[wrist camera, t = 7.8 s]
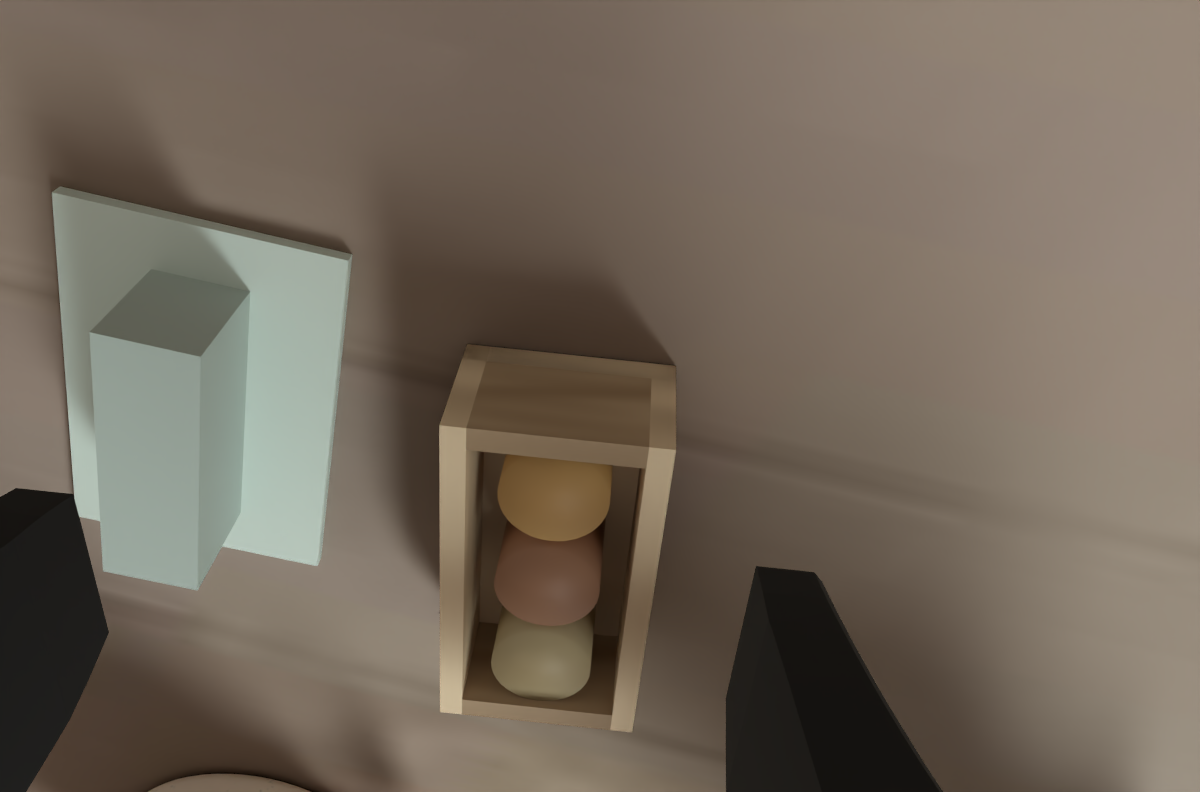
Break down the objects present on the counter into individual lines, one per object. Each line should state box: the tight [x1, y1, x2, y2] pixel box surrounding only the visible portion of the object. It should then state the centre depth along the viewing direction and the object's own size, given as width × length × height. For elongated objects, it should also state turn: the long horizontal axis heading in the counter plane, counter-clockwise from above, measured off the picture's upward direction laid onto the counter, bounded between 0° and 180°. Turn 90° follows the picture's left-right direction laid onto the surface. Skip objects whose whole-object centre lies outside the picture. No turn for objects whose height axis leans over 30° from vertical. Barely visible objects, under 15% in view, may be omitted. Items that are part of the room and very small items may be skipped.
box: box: [439, 344, 676, 732], centre depth 22 cm, size 8×4×3 cm, turn 175°
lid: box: [52, 186, 352, 590], centre depth 21 cm, size 8×6×3 cm
